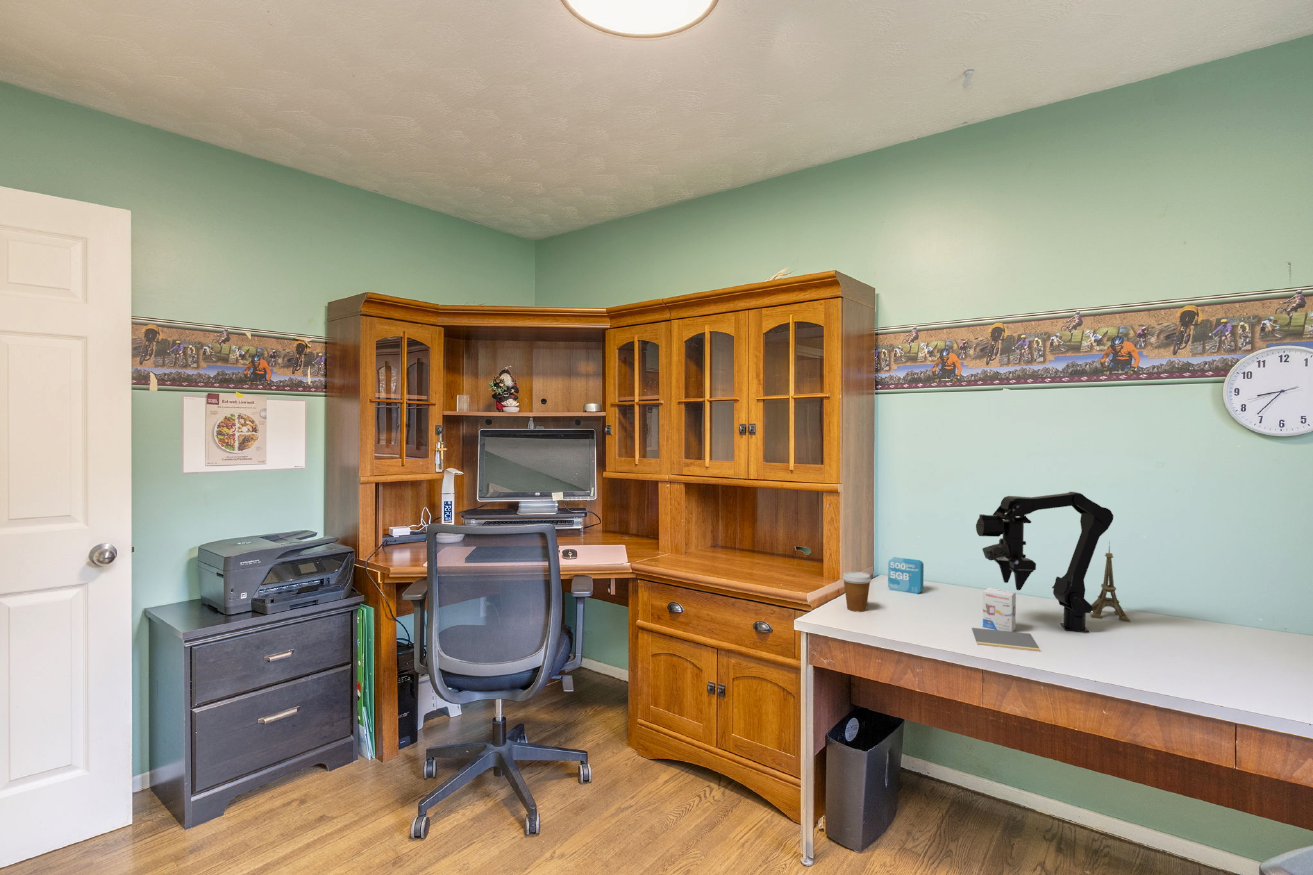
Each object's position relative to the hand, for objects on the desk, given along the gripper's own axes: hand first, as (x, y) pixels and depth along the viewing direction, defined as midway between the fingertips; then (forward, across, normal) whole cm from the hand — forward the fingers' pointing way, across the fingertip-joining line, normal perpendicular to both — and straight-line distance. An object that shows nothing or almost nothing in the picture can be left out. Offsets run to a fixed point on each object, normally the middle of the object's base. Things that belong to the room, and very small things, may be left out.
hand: (1012, 586), depth 202 cm
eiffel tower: (+13, -17, +37) cm, 43 cm away
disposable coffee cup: (+14, -14, -45) cm, 49 cm away
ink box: (+13, +1, -4) cm, 14 cm away
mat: (+13, +12, -7) cm, 19 cm away
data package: (+13, -42, -22) cm, 49 cm away
